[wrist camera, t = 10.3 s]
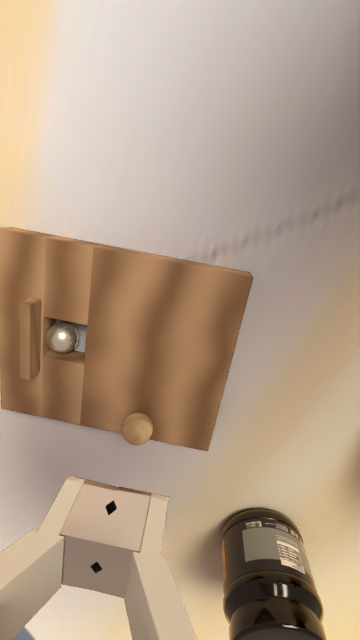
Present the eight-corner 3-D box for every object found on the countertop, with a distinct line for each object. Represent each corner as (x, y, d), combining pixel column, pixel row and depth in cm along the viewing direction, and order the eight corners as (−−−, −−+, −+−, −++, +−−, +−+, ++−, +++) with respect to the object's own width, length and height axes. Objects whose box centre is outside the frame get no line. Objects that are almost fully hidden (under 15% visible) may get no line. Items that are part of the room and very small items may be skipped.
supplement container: (226, 562, 42) (233, 686, 31) (214, 507, 39) (216, 623, 28) (303, 558, 41) (339, 688, 30) (296, 501, 38) (334, 622, 26)
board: (249, 272, 29) (256, 281, 25) (207, 435, 36) (207, 465, 31) (12, 227, 30) (-21, 228, 25) (14, 396, 36) (-11, 419, 32)
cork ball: (157, 409, 32) (152, 429, 29) (153, 433, 33) (147, 454, 30) (128, 403, 32) (120, 422, 29) (125, 427, 33) (116, 448, 30)
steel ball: (57, 331, 29) (39, 321, 30) (57, 361, 30) (39, 349, 31) (85, 325, 31) (67, 316, 33) (84, 352, 32) (66, 342, 34)
